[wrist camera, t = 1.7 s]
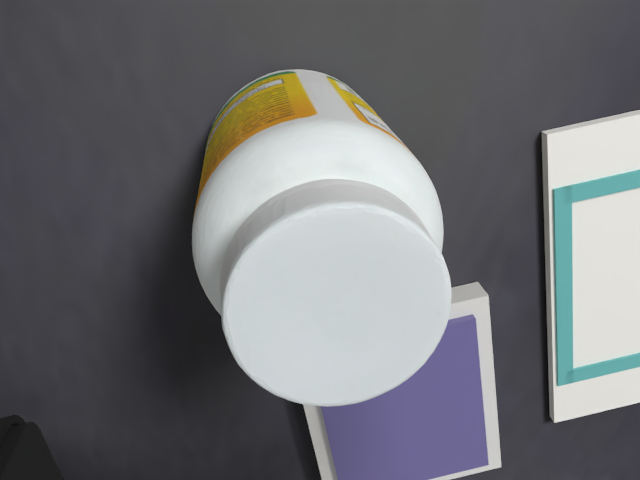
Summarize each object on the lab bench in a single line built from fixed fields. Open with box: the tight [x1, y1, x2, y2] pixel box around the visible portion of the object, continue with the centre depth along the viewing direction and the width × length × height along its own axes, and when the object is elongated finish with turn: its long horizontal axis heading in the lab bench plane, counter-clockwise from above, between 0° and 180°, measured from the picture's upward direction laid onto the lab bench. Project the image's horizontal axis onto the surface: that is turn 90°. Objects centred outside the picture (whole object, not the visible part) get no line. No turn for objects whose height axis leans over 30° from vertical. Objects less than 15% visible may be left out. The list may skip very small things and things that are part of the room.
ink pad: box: [303, 282, 501, 480], centre depth 23 cm, size 8×7×1 cm
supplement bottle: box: [192, 69, 452, 407], centre depth 15 cm, size 5×5×10 cm
